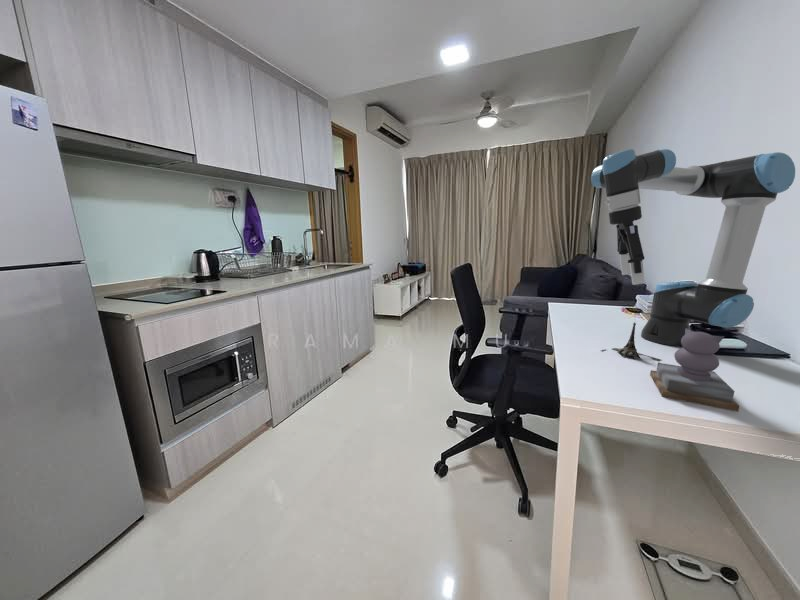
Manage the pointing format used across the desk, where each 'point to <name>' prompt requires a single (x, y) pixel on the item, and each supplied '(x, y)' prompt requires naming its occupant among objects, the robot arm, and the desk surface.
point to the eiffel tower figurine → (630, 349)
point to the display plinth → (692, 398)
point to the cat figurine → (697, 355)
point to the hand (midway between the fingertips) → (632, 278)
